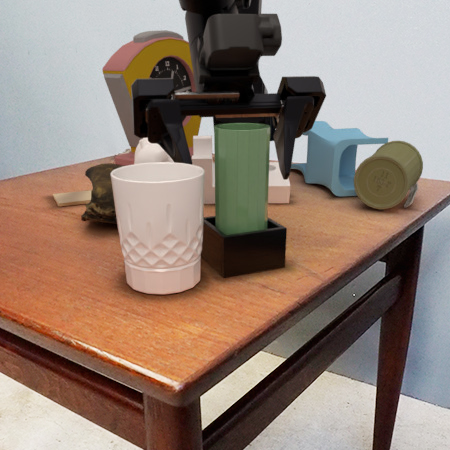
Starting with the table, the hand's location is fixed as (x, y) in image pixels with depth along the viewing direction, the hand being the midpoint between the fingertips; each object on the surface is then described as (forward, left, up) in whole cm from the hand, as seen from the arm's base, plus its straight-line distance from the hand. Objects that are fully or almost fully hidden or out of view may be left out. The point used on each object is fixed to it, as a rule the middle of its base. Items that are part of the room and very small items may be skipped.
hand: (240, 179), depth 51 cm
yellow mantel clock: (-8, -51, -8) cm, 52 cm away
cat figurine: (-1, -32, -8) cm, 33 cm away
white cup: (+9, +2, -8) cm, 12 cm away
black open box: (0, 0, -8) cm, 8 cm away
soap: (-5, -61, -9) cm, 62 cm away
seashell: (+7, -19, -8) cm, 22 cm away
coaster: (+11, -31, -8) cm, 34 cm away
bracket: (-10, -22, -8) cm, 25 cm away
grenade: (-23, -8, -5) cm, 25 cm away
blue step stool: (-26, -16, -4) cm, 30 cm away
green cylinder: (0, 0, -8) cm, 8 cm away
